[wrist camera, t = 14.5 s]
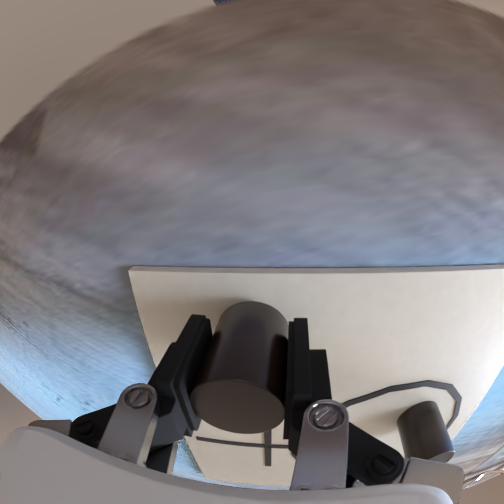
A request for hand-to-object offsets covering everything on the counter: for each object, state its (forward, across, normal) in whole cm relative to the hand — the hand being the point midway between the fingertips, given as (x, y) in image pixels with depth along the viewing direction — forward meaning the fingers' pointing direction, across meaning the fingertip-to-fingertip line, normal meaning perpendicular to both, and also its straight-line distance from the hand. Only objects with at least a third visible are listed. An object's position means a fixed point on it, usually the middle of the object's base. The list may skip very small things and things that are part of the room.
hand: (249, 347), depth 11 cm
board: (+2, -6, +9) cm, 11 cm away
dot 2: (+1, -11, +8) cm, 14 cm away
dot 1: (+1, 0, 0) cm, 1 cm away
